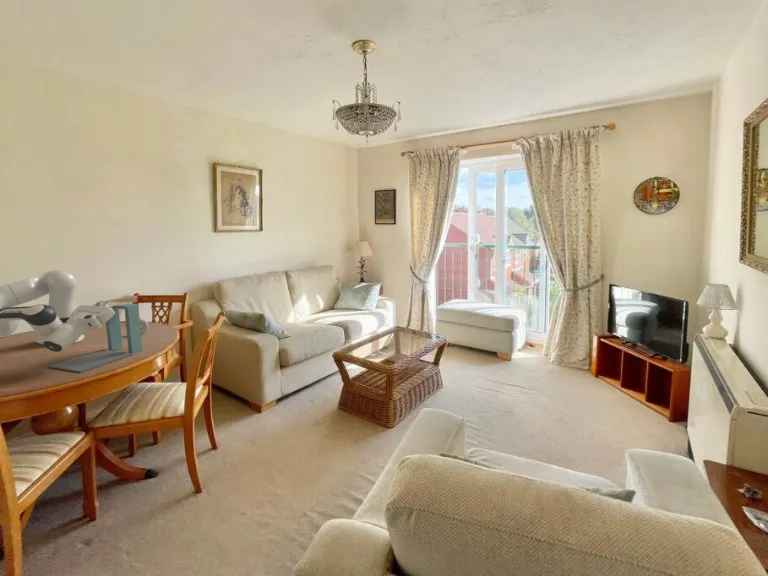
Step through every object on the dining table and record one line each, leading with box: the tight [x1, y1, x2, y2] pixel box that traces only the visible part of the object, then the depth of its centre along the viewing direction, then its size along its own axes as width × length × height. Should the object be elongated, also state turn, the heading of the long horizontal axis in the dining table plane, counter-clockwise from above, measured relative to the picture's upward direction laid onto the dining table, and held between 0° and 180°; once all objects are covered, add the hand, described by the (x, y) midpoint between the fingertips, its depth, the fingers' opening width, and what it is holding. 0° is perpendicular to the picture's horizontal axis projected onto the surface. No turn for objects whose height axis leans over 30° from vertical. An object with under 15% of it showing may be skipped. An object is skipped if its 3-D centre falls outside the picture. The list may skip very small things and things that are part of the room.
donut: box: [139, 317, 149, 335], centre depth 229 cm, size 10×4×10 cm, turn 129°
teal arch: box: [105, 303, 143, 354], centre depth 198 cm, size 16×6×24 cm, turn 72°
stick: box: [96, 295, 138, 307], centre depth 195 cm, size 2×19×3 cm, turn 162°
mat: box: [48, 349, 134, 374], centre depth 185 cm, size 20×25×1 cm
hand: (106, 302), depth 189 cm, fingers open, 3 cm apart
